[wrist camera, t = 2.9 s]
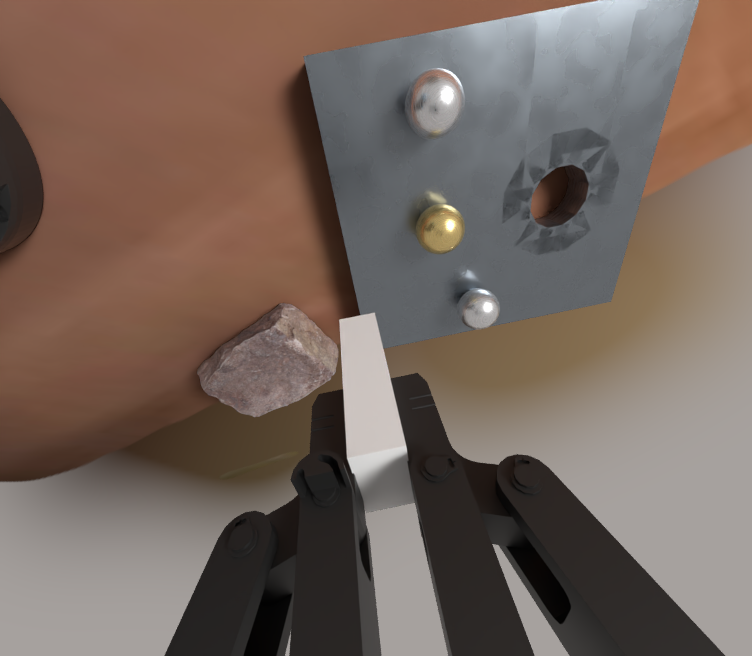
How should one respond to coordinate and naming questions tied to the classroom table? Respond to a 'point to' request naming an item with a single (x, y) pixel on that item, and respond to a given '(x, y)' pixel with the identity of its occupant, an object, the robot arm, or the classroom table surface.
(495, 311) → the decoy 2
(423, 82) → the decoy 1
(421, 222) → the brass ball
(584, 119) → the plate
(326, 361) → the stone
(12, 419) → the classroom table surface
